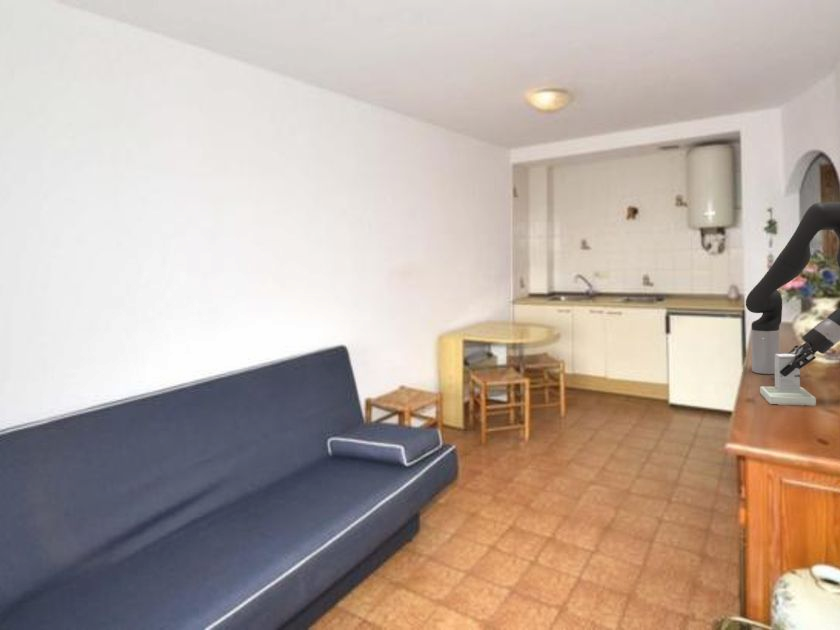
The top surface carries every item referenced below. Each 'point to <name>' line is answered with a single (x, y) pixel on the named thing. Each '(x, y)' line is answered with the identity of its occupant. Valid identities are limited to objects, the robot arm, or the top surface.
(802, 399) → the tray
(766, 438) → the top surface
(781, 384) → the skincare box
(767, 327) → the robot arm
